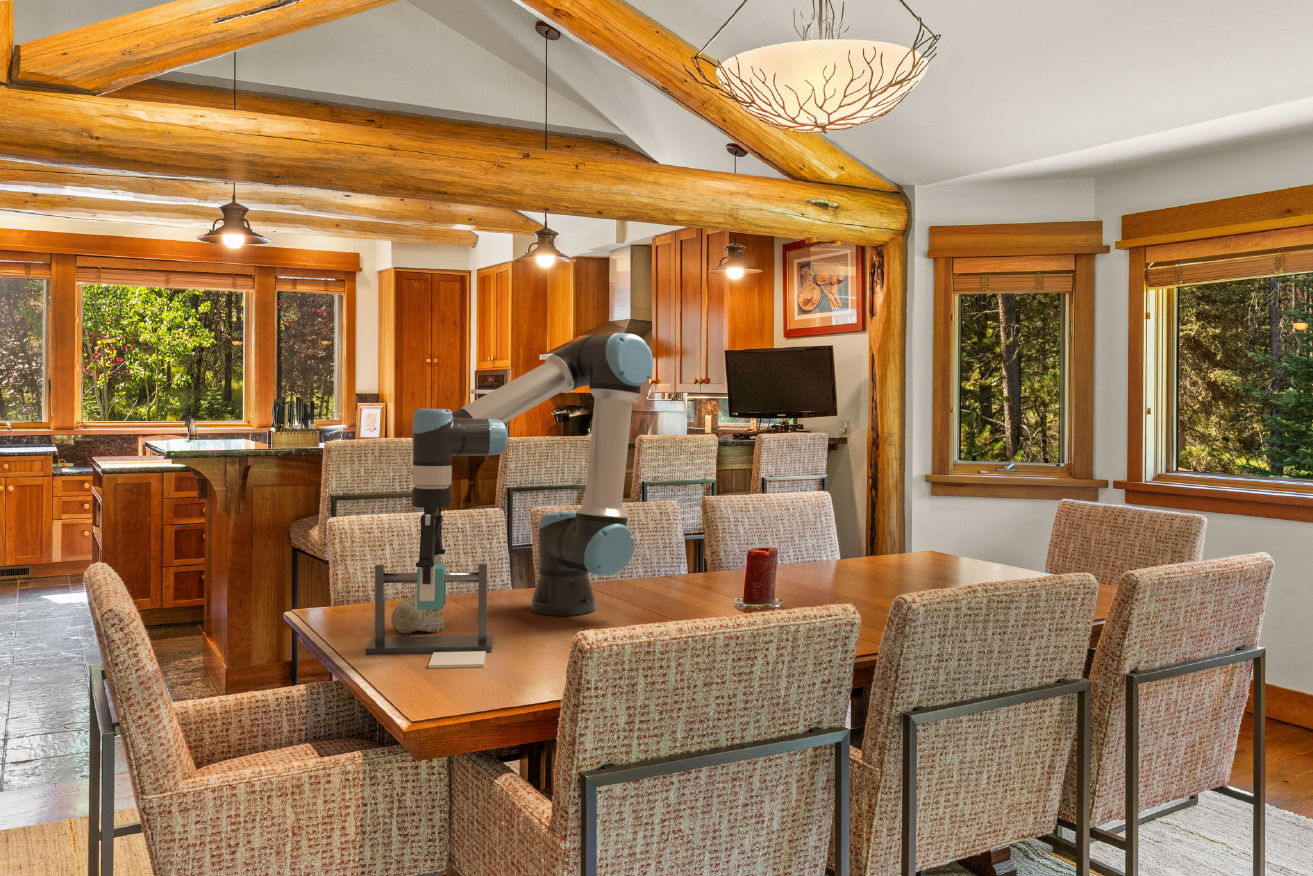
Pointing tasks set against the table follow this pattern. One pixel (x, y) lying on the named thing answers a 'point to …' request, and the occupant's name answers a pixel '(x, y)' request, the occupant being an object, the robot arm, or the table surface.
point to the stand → (429, 643)
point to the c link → (438, 590)
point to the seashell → (416, 618)
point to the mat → (457, 659)
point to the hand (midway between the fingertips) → (430, 593)
